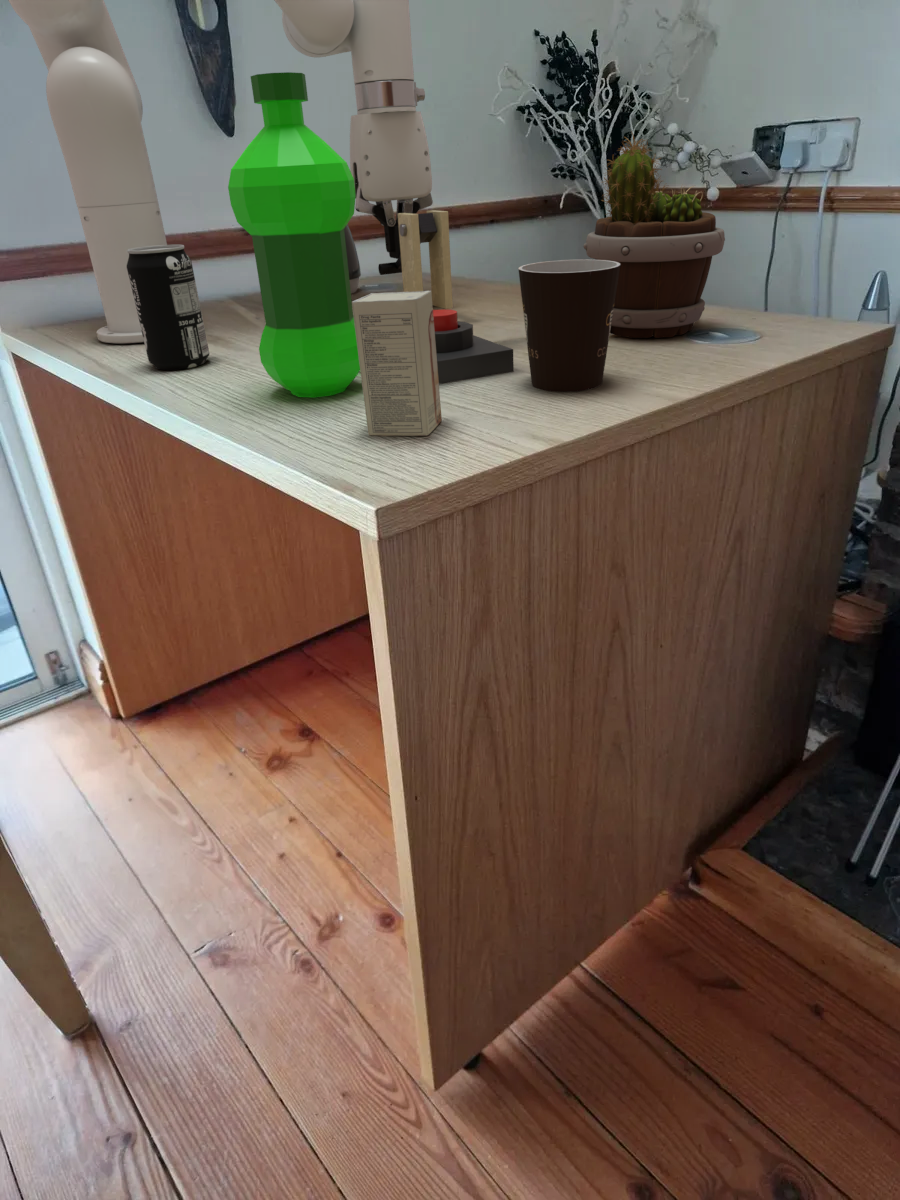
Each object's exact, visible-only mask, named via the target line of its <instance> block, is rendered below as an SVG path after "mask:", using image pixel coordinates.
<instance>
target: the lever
mask: <svg viewBox="0 0 900 1200" xmlns="http://www.w3.org/2000/svg"><path fill="white" fill-rule="evenodd" d="M417 214H418V220H419V235H420V245H421V244H424V243H429V242H431V240H432V239H433V237H434V236H435V234H436V233H437V228H436V224H435V220H434V216H433V213H427V212H424V213H423V212H422V213H417ZM378 274H379V275H380V276H385V275H393V274H402V264H401V254H400V256H399V258H398V259H396V261H394V262H384V263H379V264H378Z"/></svg>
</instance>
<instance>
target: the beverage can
mask: <svg viewBox="0 0 900 1200" xmlns="http://www.w3.org/2000/svg"><path fill="white" fill-rule="evenodd" d="M127 252H128V253H129V259H128V262H127V271H128V275H129V280H130V284H131V288H132V292H133V297H134V301H135V305H136V309H137V314H138V318H139V322H140V326H141V331H142V335H143V339H144V342H143V343H144V346H145V351H146V355H147V359H148V360H147V361H148V363H150V364H151V365H153V366H154V368H156V369H157V370H162V371H177V370H185V369H187V370H188V369H191V368H192V369H193V368H195V367H199V366H202V365H203V364H205V363H206V362H207V359H208V358H209V356H210V348H209V344H208V339H207V334H206V328H205V324H204V318H203V313H202V308H201V304H200V303H201V302H200V298H199V293H198V287H197V283H196V278H195V273H194V268H193V263H192V259H191V258H190V256H189V255H188V254H187V253H186V251H185V245H184V244H167V245H157V246H146V247H138V248H132V249H128V250H127Z"/></svg>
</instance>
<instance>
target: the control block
mask: <svg viewBox="0 0 900 1200" xmlns="http://www.w3.org/2000/svg"><path fill="white" fill-rule="evenodd" d="M457 321H458V328H457V329H454V330H448V331H435V343H436V355H437V367H438V380H439V385H441V384H448V383H453V382H459V381H464V380H465V381H466V380H471V379H477V378H483V377H489V376H494V375H500V374H501V375H502V374H507V373H512V372H514V370H515V369H514V366H515V365H514V348H511V347H508V346H505V345H502V344H500V343H497V342H494V341H491V340H488V339H485V338H482V337H480V336H477V335H474V324H472V323H470V322H466V321H461V320H460V321H459V320H457Z"/></svg>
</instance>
